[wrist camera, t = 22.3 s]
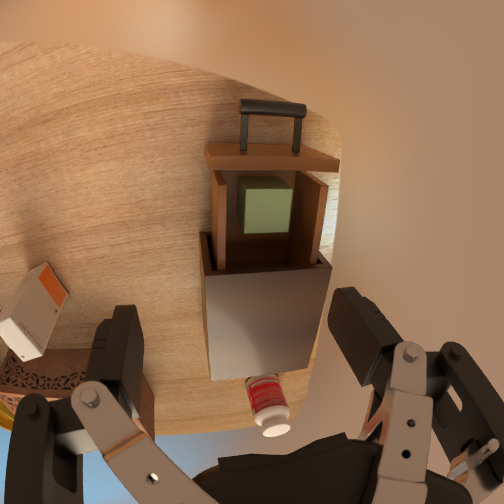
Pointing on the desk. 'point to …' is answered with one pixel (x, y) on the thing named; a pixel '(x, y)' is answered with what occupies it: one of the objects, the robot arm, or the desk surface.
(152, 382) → the desk surface
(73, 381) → the tissue box cover
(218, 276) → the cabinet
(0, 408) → the flower pot
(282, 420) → the pill bottle
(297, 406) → the desk surface
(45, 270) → the cosmetic box
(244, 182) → the block
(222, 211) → the drawer
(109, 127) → the desk surface
